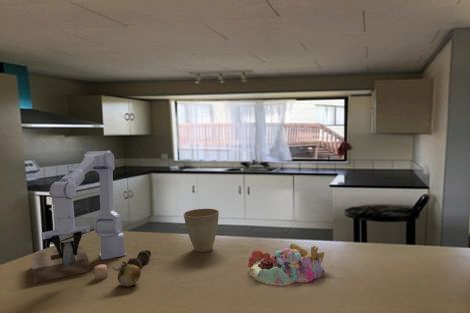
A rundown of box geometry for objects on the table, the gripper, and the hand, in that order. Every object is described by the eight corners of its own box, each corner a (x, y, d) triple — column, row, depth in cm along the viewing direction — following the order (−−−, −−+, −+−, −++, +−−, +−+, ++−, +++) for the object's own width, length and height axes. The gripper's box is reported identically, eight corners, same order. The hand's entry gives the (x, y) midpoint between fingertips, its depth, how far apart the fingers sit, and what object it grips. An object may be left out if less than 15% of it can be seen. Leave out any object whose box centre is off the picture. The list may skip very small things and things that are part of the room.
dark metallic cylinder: (74, 261, 125) (72, 239, 125) (75, 265, 122) (74, 242, 121) (62, 264, 123) (60, 241, 123) (62, 267, 120) (60, 244, 119)
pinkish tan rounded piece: (105, 274, 130) (104, 263, 129) (108, 277, 126) (107, 267, 126) (94, 277, 128) (93, 266, 127) (97, 281, 124) (96, 270, 124)
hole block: (83, 257, 149) (82, 245, 149) (89, 271, 133) (88, 258, 133) (33, 266, 140) (32, 254, 140) (33, 283, 125) (32, 269, 124)
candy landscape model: (282, 255, 143) (282, 232, 142) (336, 270, 126) (335, 244, 125) (238, 274, 125) (237, 248, 124) (293, 295, 108) (292, 265, 108)
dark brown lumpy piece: (149, 262, 145) (135, 276, 130) (139, 256, 145) (123, 269, 131) (156, 250, 145) (142, 262, 130) (145, 244, 145) (130, 256, 130)
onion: (128, 291, 115) (127, 267, 114) (112, 287, 119) (110, 263, 118) (146, 282, 121) (144, 259, 120) (130, 278, 125) (128, 256, 125)
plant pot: (201, 241, 163) (199, 207, 162) (227, 246, 154) (225, 210, 153) (178, 251, 151) (175, 214, 150) (204, 257, 142) (203, 218, 141)
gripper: (40, 222, 114) (44, 264, 115) (89, 215, 121) (92, 254, 122) (40, 218, 120) (43, 257, 121) (86, 211, 127) (89, 249, 129)
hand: (68, 255), depth 122 cm, fingers closed on dark metallic cylinder, 4 cm apart
